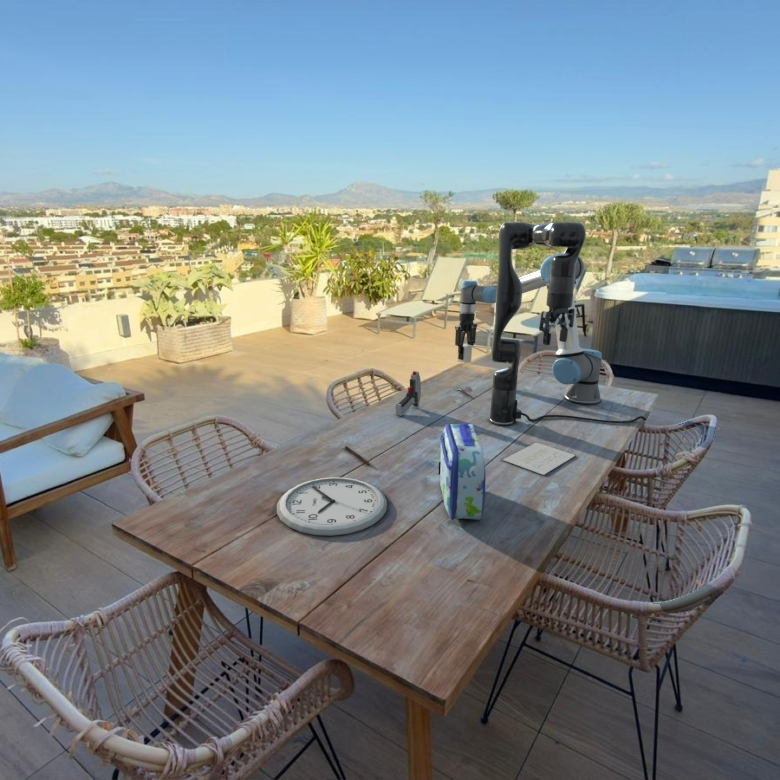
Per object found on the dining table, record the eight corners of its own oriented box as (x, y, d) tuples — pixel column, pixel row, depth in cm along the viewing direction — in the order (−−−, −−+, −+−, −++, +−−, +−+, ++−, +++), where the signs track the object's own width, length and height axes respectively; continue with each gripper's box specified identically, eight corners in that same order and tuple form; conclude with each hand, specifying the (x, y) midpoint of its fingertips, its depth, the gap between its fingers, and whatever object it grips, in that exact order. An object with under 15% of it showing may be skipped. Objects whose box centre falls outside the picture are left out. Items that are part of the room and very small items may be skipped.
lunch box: (436, 479, 158) (439, 414, 152) (472, 480, 158) (476, 415, 152) (443, 526, 133) (448, 451, 127) (486, 527, 133) (492, 452, 127)
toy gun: (394, 379, 206) (416, 369, 217) (395, 417, 212) (416, 405, 223) (399, 380, 205) (420, 370, 216) (400, 418, 211) (421, 406, 222)
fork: (466, 397, 235) (466, 393, 234) (453, 387, 250) (453, 383, 249) (471, 397, 236) (472, 392, 235) (458, 387, 250) (458, 383, 250)
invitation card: (535, 442, 186) (575, 454, 176) (535, 442, 187) (575, 455, 176) (502, 459, 172) (543, 474, 162) (502, 460, 172) (543, 475, 162)
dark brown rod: (344, 448, 179) (344, 445, 179) (346, 448, 179) (346, 445, 179) (367, 464, 167) (367, 462, 167) (368, 464, 167) (368, 461, 167)
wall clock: (392, 527, 129) (268, 531, 127) (391, 533, 130) (269, 537, 127) (383, 473, 158) (282, 475, 155) (383, 478, 158) (282, 480, 156)
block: (463, 360, 267) (464, 343, 264) (471, 362, 263) (472, 345, 260) (457, 361, 264) (458, 344, 261) (464, 363, 260) (465, 346, 257)
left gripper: (563, 288, 166) (558, 338, 171) (535, 291, 158) (530, 343, 162) (584, 290, 160) (578, 342, 165) (557, 293, 152) (551, 348, 157)
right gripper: (473, 309, 264) (470, 354, 271) (448, 312, 254) (446, 359, 261) (485, 311, 258) (481, 357, 265) (460, 314, 248) (457, 362, 255)
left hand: (554, 343), depth 164 cm, fingers open, 8 cm apart
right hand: (464, 358), depth 263 cm, fingers closed on block, 4 cm apart
